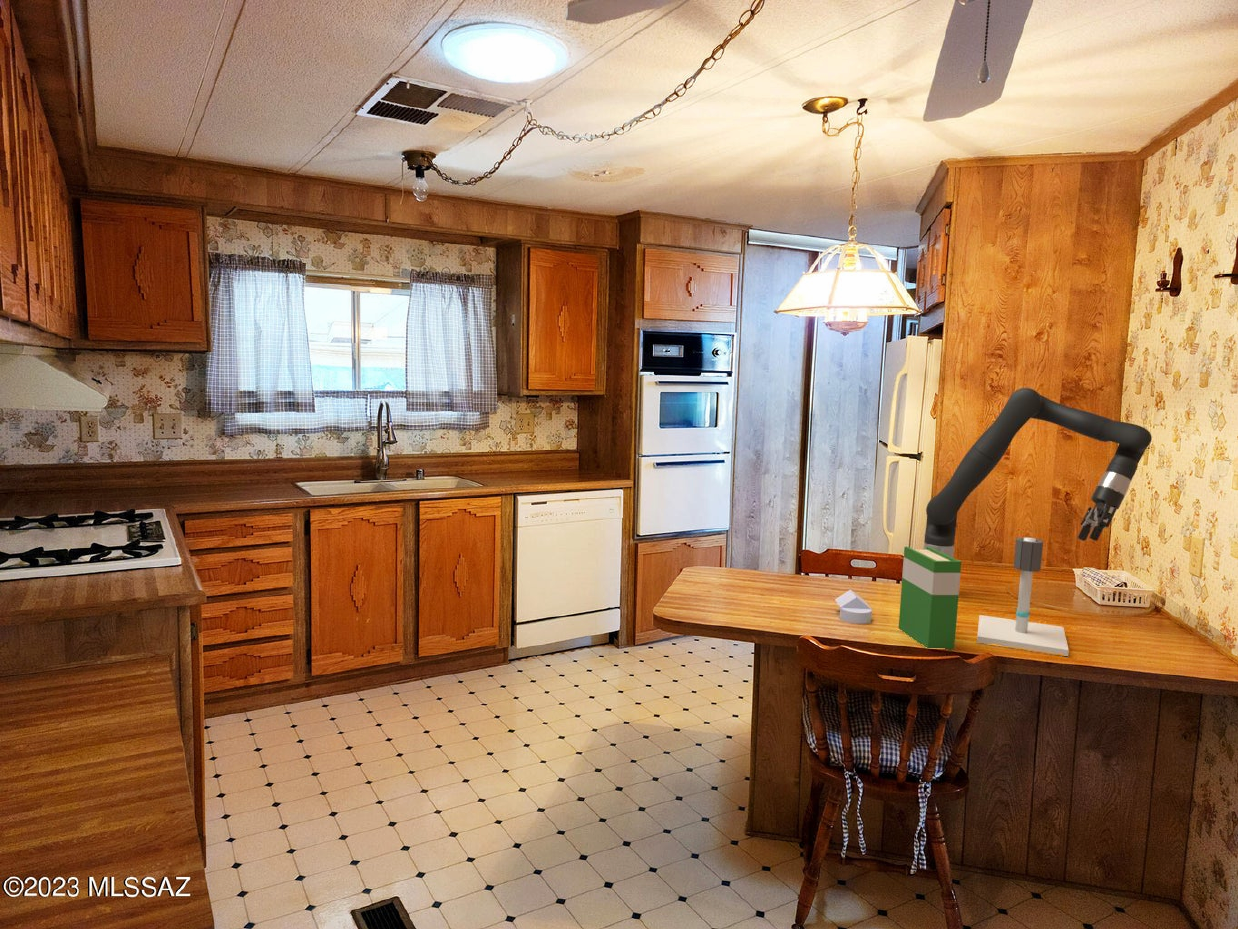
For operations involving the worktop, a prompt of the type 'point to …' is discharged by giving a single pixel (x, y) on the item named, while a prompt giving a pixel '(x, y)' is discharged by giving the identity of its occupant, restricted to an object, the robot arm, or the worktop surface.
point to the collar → (1028, 555)
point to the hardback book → (930, 597)
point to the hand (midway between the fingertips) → (1086, 539)
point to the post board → (1022, 639)
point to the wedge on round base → (853, 608)
